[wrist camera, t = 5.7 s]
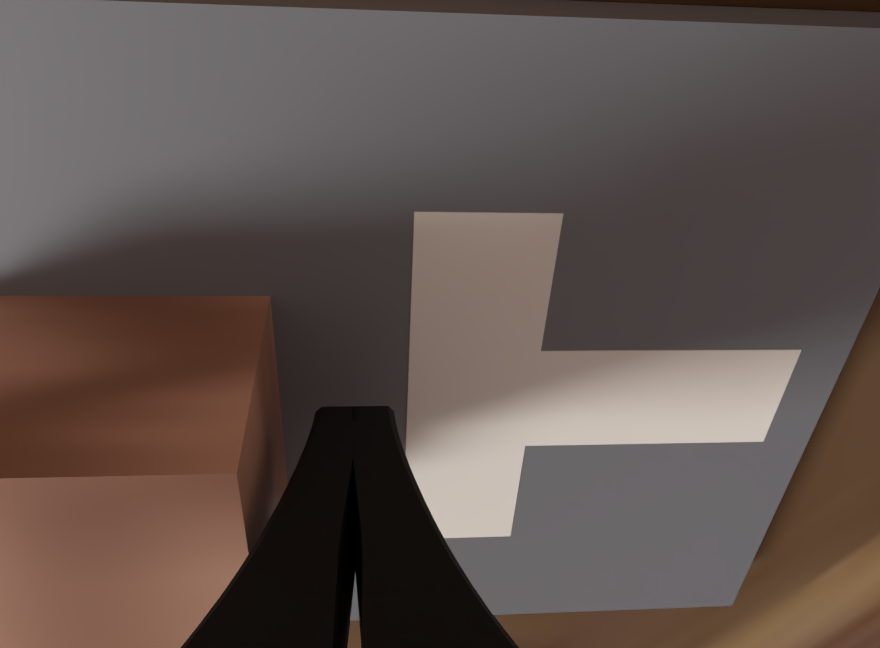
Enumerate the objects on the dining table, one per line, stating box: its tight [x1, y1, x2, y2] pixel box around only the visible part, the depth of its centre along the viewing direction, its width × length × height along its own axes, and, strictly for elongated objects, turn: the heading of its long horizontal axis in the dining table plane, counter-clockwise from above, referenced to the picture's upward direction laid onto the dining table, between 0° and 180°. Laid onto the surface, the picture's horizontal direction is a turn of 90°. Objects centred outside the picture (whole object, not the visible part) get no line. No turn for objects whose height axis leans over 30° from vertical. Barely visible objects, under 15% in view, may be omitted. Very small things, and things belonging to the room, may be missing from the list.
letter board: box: [0, 0, 880, 620], centre depth 15 cm, size 18×14×1 cm
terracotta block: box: [0, 296, 288, 648], centre depth 12 cm, size 5×5×4 cm
